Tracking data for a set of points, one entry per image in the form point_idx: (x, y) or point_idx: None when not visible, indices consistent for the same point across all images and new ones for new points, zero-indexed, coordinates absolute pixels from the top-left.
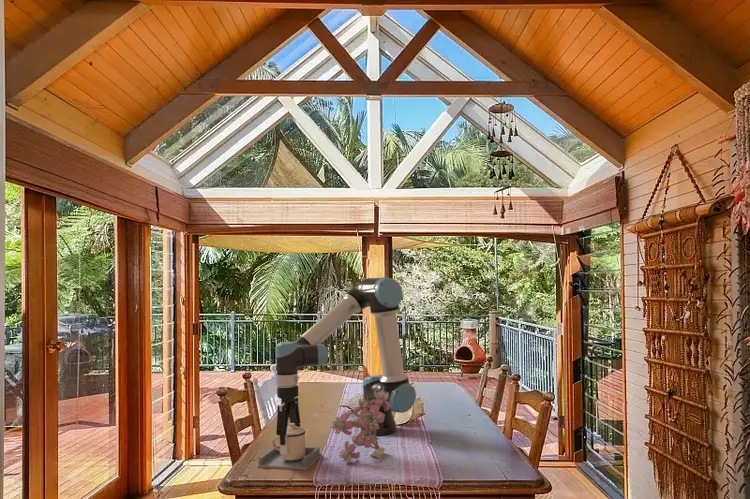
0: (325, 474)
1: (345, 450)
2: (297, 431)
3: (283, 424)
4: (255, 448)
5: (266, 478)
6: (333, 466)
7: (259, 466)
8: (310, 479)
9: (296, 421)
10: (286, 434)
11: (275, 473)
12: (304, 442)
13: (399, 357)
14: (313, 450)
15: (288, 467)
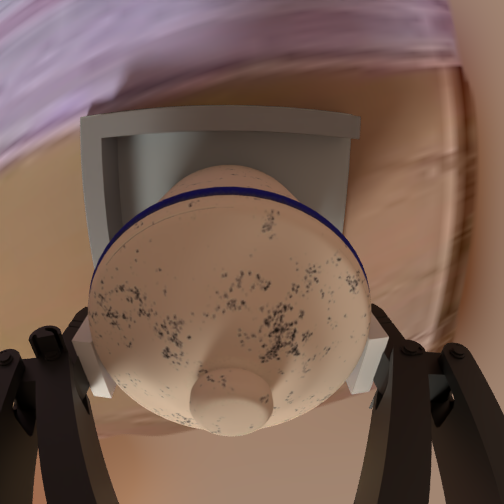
0: (389, 15)
1: None
2: (315, 270)
3: (500, 410)
4: (105, 425)
5: (439, 265)
6: None
7: None
8: (449, 76)
9: (68, 397)
10: (362, 350)
11: (393, 254)
12: (220, 177)
13: None
14: (149, 129)
15: (342, 217)
